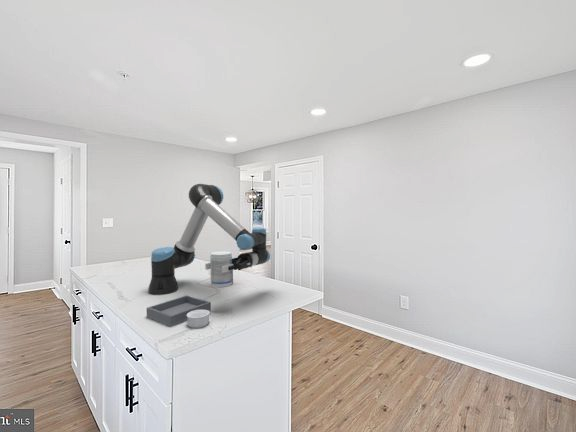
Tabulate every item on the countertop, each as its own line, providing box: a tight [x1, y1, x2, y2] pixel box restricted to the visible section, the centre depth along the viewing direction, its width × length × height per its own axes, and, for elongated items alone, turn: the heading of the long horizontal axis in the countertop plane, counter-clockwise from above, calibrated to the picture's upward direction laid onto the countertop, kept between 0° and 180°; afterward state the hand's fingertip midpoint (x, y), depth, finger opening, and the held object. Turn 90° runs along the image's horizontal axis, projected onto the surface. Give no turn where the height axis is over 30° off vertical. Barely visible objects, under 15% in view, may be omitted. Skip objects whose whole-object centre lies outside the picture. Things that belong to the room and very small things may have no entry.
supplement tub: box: [209, 251, 233, 288], centre depth 127 cm, size 10×10×15 cm
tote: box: [146, 295, 212, 327], centre depth 122 cm, size 17×20×4 cm
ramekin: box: [187, 310, 211, 329], centre depth 112 cm, size 9×9×4 cm
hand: (213, 268), depth 123 cm, fingers closed on supplement tub, 9 cm apart
